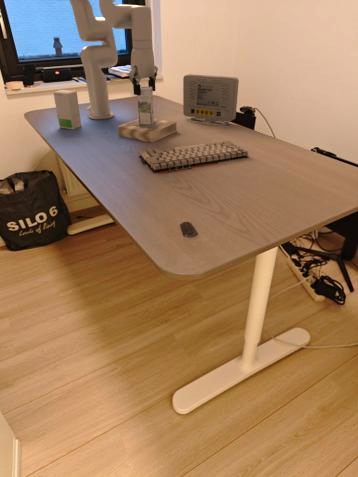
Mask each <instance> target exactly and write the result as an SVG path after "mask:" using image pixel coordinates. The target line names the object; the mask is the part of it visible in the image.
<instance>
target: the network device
mask: <svg viewBox="0 0 358 477" xmlns="http://www.w3.org/2000/svg"><path fill="white" fill-rule="evenodd" d="M182 80H183V83H182V84H183V88H182V90H183V92H182V94H183V97H182V100H183V107H182V108H183V109H182V110H183V111H182V112H183V115H184V116H185V117H190V118H189V119H188V122H189V123H193V124H201V125H208V126H217V127H224V126H227V125H228V124H229V122H232V121H233V120H235V119H236V117H237V108H238V107H237V106H238V95H239V83H240V82H239V78H238V77H235V76H221V75H220V76H219V75H208V74H207V75H205V74H192V73H190V74H186V75H184V76H183V79H182ZM196 118H199V119H200V120H204V121H197V120H196ZM199 119H198V120H199ZM213 122H214V123H213ZM215 122H221V123H215ZM222 122H223V123H222Z"/></svg>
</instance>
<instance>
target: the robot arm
mask: <svg viewBox="0 0 358 477" xmlns="http://www.w3.org/2000/svg"><path fill="white" fill-rule="evenodd" d="M68 1H69V2H70V5H71V7H72V12H73V16H74V21H75V24H76V28H77V33H78V36H79V39H80V41H82V42H85V43H98V42H99V43H101V44H94V45H86V46H84V47H83V48H82V49H81V51H80V60H81V63H82V67H83V71H84V75H85V78H86V79H85V80H86V85H87V91H88V99H89V105H88V107H87V108H86V111H88V112H89V114H88V118H90V119H91V120H107V119H112V118H113V117H114V116H115V114H114V112H112V111H111V107H110V99H109V98H110V97H109V89H108V81H107V77H106V75H105V73H104V72H103V70H102V69H104V68H111V67H114V66H116V65H117V64H118V61H119V60H118V59H119V56H118V50H117V49H118V48H117V45H116V39H115V34H114V30H113V29H115V30H123V29H124V30H125V29H126V30H127V29H131V38H132V39H131V40H132V50H131V53H130V54H131V55H130V71H129V72H128V77H129V80H130V82H131V83H132V89H133V95H135V96H137V95H141V89H140V87H141V84H140V82H141V80H143V79H148V80H147V81H148V82H147V84H148V86H147V87H152V90H153V92H155V91H156V80H157V76H158V71H159V68H158V67H157V66H156V65H155V56H154V50H153V32H152V31H153V27H152V26H153V25H152V24H153V22H152V10H151V8H150V6H148V5H137V4H115V1H116V0H98V5H99V10H100V13H101V15H102V16H101V17H96V16H95V14H94V11H93V10H94V9H93V6H92V4H91V2H90V0H68Z"/></svg>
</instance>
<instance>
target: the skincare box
mask: <svg viewBox="0 0 358 477" xmlns="http://www.w3.org/2000/svg"><path fill="white" fill-rule="evenodd" d="M53 96H54V97H53V98H54V104H55V108H56V109H55V110H56V115H57V120H58V121H57V122H58V127H59V129H60V128H62V129H68V130H76V129H78V128H81V127H82V120H81V114H80V107H79V106H80V105H79V98H78V92H77V91H76V90H69V89H68V90H67V89H60V90H56V91H53Z"/></svg>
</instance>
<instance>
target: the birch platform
mask: <svg viewBox="0 0 358 477" xmlns="http://www.w3.org/2000/svg"><path fill="white" fill-rule="evenodd" d="M117 130H118V136H120V137H124V138H130V139H133V140H139V141H143V142H146V143H147V142H148V143H154V142H156V141H158V140H161V139H162V138H164V137H167V136H170V135H172V134H174V133H177V121H170V120H166V119H165V120H164V119H160V118H154V123H153V125H139V118H137V119H135V120H131V121H129V122H125V123H122V124H120V125H118V126H117Z"/></svg>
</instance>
